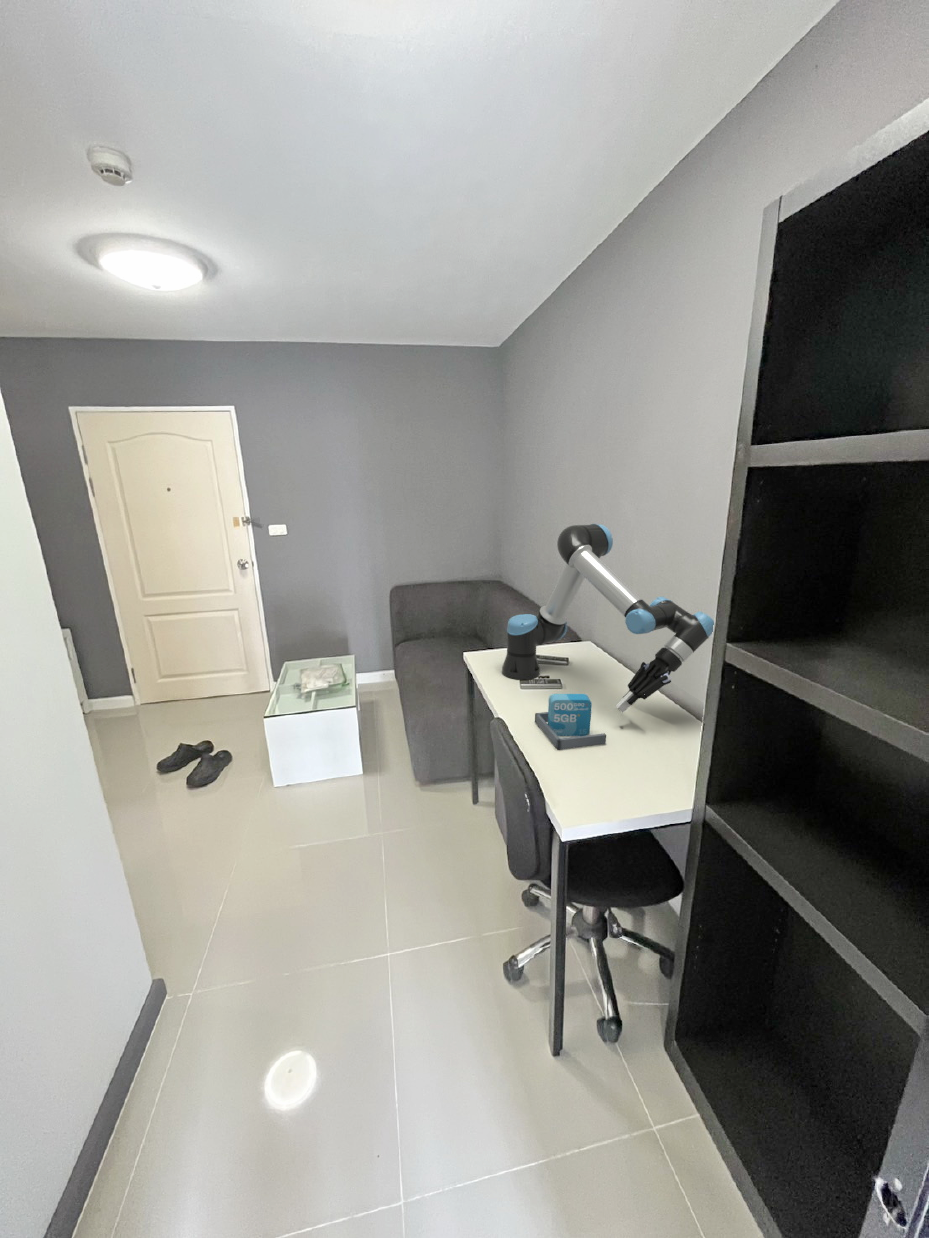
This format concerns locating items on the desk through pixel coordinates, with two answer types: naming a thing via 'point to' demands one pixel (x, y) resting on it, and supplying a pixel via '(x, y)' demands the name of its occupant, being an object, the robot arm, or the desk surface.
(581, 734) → the data package
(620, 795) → the desk surface
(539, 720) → the dock bay
